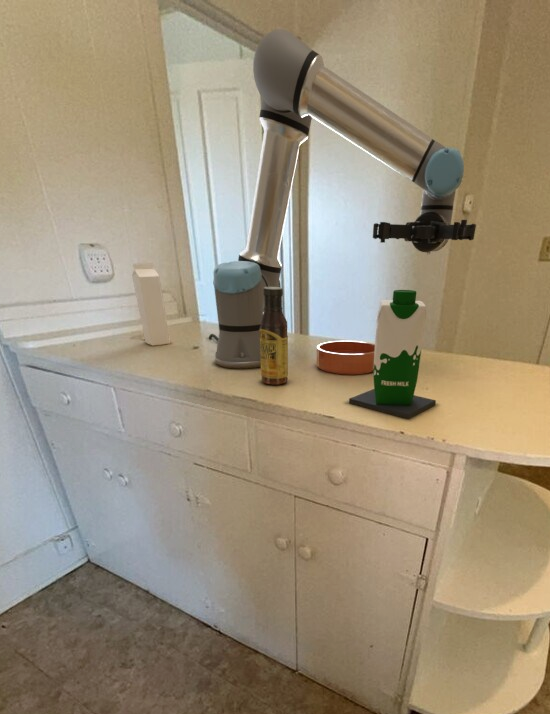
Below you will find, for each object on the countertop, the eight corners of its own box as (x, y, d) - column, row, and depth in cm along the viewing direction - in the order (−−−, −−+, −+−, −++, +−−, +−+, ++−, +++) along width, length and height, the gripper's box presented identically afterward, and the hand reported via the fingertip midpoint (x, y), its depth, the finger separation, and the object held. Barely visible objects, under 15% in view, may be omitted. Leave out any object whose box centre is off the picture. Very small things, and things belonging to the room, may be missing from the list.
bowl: (304, 367, 112) (303, 347, 109) (342, 356, 122) (342, 338, 120) (354, 379, 103) (355, 357, 100) (390, 366, 114) (392, 346, 111)
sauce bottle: (256, 382, 100) (249, 287, 89) (275, 377, 104) (271, 285, 93) (274, 388, 96) (270, 289, 85) (294, 382, 100) (292, 287, 89)
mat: (348, 403, 88) (349, 398, 87) (378, 391, 95) (378, 386, 94) (408, 419, 80) (408, 414, 80) (435, 405, 87) (436, 400, 87)
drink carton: (371, 405, 83) (380, 291, 73) (370, 392, 91) (378, 286, 80) (416, 407, 83) (432, 292, 72) (411, 393, 90) (425, 287, 80)
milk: (145, 342, 136) (129, 263, 124) (163, 340, 139) (149, 262, 127) (152, 346, 132) (136, 263, 120) (171, 343, 135) (157, 263, 123)
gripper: (483, 253, 95) (483, 255, 78) (374, 251, 101) (351, 253, 84) (491, 212, 91) (492, 205, 74) (376, 212, 97) (353, 206, 80)
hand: (417, 230), depth 79 cm, fingers open, 13 cm apart
